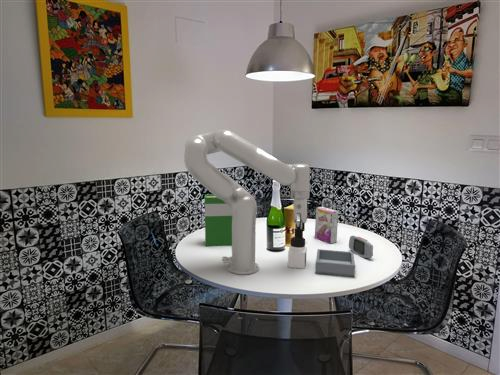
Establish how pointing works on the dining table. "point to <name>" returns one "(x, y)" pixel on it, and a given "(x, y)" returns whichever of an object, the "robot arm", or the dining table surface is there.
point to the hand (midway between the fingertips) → (299, 234)
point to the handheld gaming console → (361, 247)
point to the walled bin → (335, 263)
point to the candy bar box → (326, 225)
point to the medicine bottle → (297, 253)
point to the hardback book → (217, 222)
